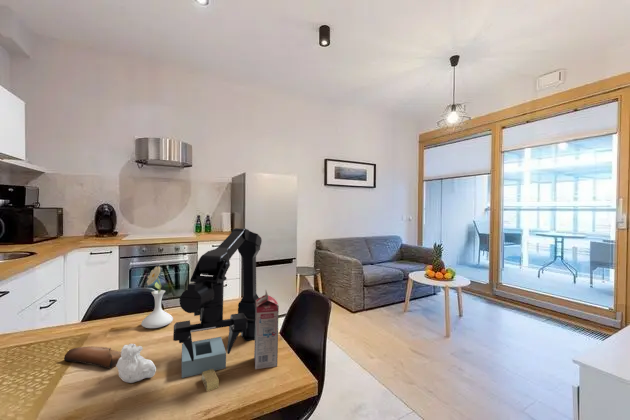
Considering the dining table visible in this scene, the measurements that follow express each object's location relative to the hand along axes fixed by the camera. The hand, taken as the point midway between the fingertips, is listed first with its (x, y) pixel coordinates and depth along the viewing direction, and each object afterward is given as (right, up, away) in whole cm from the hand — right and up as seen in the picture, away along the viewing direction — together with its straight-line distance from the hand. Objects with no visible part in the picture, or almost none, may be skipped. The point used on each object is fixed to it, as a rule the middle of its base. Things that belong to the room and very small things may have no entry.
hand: (210, 356), depth 74 cm
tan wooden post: (0, -8, 0) cm, 8 cm away
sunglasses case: (-40, -7, +11) cm, 42 cm away
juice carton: (+13, -8, +11) cm, 19 cm away
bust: (-22, -7, +1) cm, 23 cm away
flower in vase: (-36, -7, +37) cm, 52 cm away
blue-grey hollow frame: (-6, -7, +10) cm, 14 cm away
